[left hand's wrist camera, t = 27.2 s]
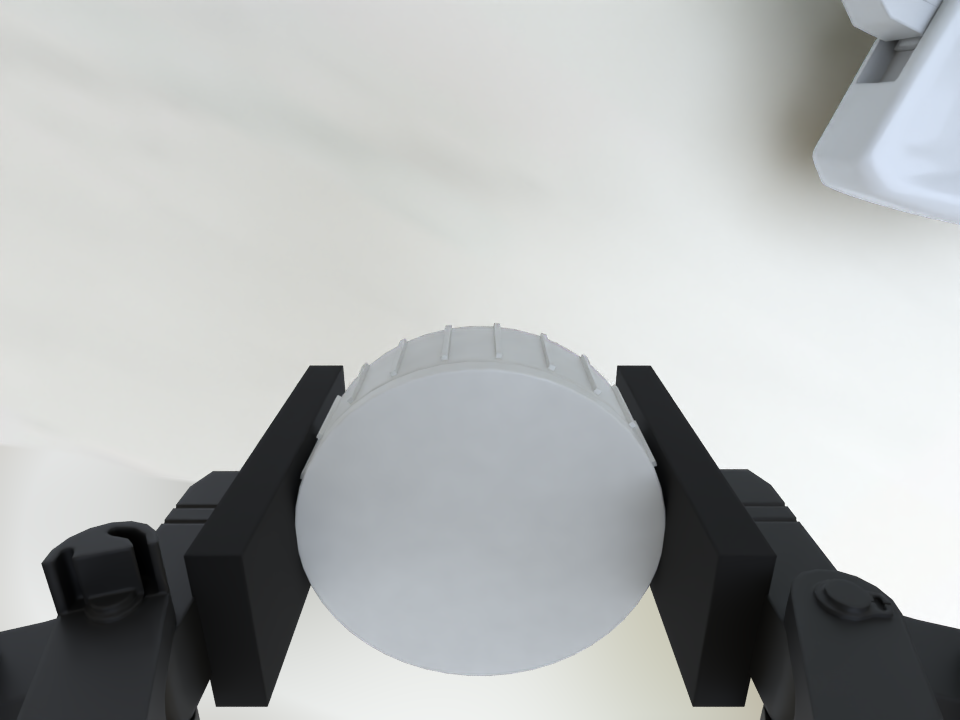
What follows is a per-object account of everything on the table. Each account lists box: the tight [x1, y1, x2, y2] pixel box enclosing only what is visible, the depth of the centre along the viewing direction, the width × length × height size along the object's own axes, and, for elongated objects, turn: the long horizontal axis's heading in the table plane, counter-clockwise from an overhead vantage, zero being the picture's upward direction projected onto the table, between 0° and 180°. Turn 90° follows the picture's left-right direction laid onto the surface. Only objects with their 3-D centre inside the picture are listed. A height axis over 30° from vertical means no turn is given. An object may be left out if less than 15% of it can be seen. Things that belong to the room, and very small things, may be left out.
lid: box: [295, 323, 666, 676], centre depth 12 cm, size 6×6×2 cm
